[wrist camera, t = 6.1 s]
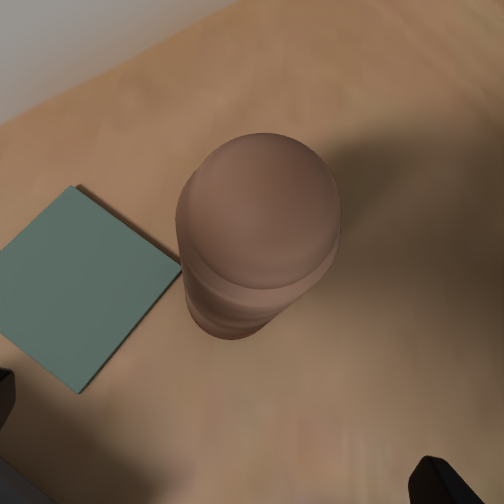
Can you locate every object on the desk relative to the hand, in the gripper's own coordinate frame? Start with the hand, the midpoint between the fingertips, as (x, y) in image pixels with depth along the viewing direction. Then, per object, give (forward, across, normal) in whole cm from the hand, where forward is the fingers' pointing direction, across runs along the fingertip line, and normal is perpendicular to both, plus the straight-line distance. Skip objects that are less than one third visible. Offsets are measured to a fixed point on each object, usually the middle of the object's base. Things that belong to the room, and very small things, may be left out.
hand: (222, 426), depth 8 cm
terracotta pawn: (+12, 0, +4) cm, 13 cm away
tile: (+12, +8, +5) cm, 15 cm away
